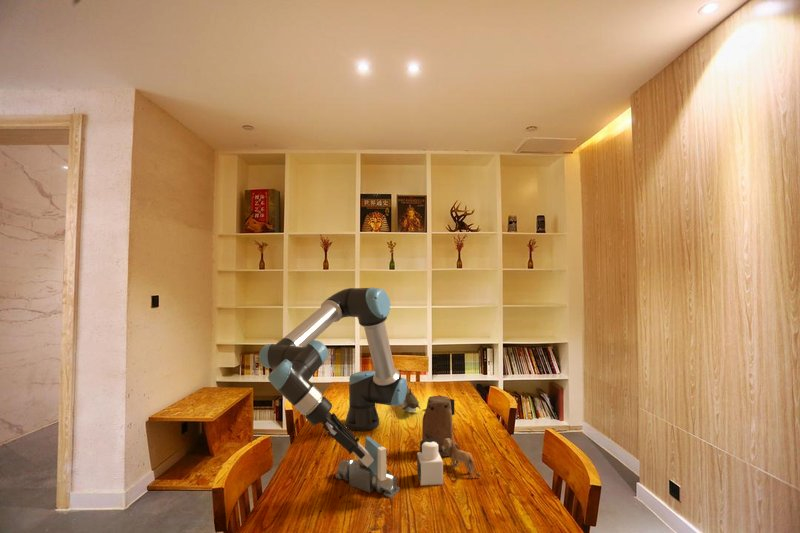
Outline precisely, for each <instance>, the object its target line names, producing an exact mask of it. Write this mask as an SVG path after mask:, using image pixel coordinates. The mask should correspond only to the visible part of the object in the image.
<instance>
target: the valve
mask: <svg viewBox="0 0 800 533" xmlns="http://www.w3.org/2000/svg"><path fill="white" fill-rule="evenodd" d="M335 477H336V478H335ZM334 478H335V479H337V478H338V479H337V480H340V479H341V480H344V481H346V482H349V484H348V485H349V486H350V487H353V488H355V489H359V490H362V491H364V492H367V493H369V494H370V493H371V492H372V491H374V490H376V492H377V493H379V494H383V497H387V498H389V499H391V498H393V496H394V495H396V494H398V492H399V491H400V490H401V487H400V486H397V485H398V477H397V476H396V475H394V474H391V471H390V470H388V469H386V480H382V481H380V480H379V479H378V477H377V476H376V474H375V473H374V472H373V471H372V470H371V469H370V468H369V467H368V468H367V467H366V466H361V465H360V464H359V459H358V458H357V459H354V458H349V459H341V460H340V461H339V463H338V466H337V473H336V474H335V476H334ZM342 478H343V479H342Z"/></svg>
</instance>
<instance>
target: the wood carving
mask: <svg viewBox="0 0 800 533" xmlns="http://www.w3.org/2000/svg"><path fill="white" fill-rule="evenodd" d="M417 408H418V409H421V407H420V405H419V401H418V398H417V397H416V395H414V393H413V392H412V388H410V387H409V385H407V393H406V397H405V399H404V401H403V403H402V404H401V409H402V411H403V410H404V411H407V412H416V411H417ZM404 411H403V412H404Z"/></svg>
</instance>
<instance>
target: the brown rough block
mask: <svg viewBox="0 0 800 533" xmlns="http://www.w3.org/2000/svg"><path fill="white" fill-rule="evenodd" d="M440 396H441V397H440ZM440 396H439V395H433V396H429V397H428V399H427V402H426V408H425V412H424V414H423V416H422V423H421V425H422V428H421V429H422V430H421V432H422V433H421V435H422V440H424V439H427V438H431V439H435V440H437V441H438V442H439V454H440V456H441V458H442V457H449V456H448V454H447V453H446V452H445V451H443V449H442V448H441V446H442V445H443V444H444V439H446V438H450V439H452V440H453V441H454V432H453V430H454V429H453V415H452V410H451V402H450V399H451V398H450V397H449V396H445V395H440ZM449 398H450V399H449Z"/></svg>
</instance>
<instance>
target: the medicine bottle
mask: <svg viewBox="0 0 800 533" xmlns="http://www.w3.org/2000/svg"><path fill="white" fill-rule="evenodd" d="M419 448H420V449H419V452H417V453H416V454H417V455H416V458H417V460H416V461H417V466H416V467H417V471H416V472H417V477H418V481H419V485H420V486H423V487H424V486H438V485H439V486H440V485H443V484H444V461H443V459H442V457H441V456H440V454H439V442H438V441H437V440H435V439H431V438H427V439H424V440H423V439H422V440H421V441H420V442H419Z"/></svg>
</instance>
